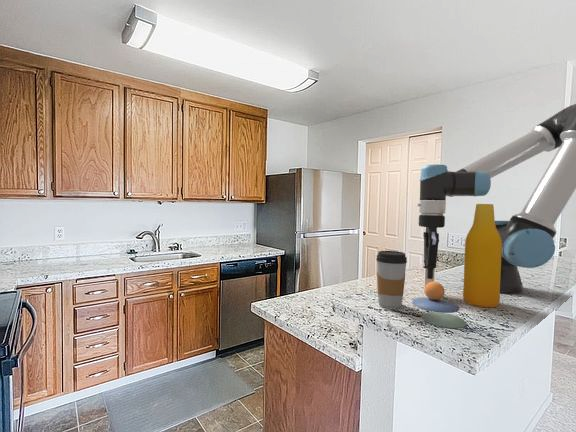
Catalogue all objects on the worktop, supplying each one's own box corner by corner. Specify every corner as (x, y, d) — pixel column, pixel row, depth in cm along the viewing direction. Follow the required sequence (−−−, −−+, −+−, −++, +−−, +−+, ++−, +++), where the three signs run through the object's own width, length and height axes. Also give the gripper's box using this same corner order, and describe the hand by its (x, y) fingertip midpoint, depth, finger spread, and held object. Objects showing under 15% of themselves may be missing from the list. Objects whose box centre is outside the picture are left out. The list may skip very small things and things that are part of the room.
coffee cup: (407, 311, 86) (409, 256, 85) (375, 308, 87) (377, 254, 86) (403, 301, 94) (404, 251, 93) (373, 299, 95) (375, 249, 95)
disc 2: (450, 312, 85) (450, 311, 85) (475, 327, 75) (475, 327, 75) (414, 313, 84) (414, 312, 84) (435, 328, 74) (435, 327, 74)
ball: (444, 278, 95) (445, 294, 91) (443, 289, 98) (444, 305, 95) (424, 277, 97) (424, 292, 93) (424, 287, 100) (424, 302, 97)
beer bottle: (507, 307, 89) (512, 204, 88) (474, 308, 89) (479, 204, 87) (485, 297, 99) (489, 203, 97) (456, 297, 98) (459, 203, 96)
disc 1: (442, 298, 98) (442, 297, 98) (468, 312, 86) (468, 311, 86) (405, 298, 97) (405, 297, 97) (425, 312, 85) (425, 311, 85)
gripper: (416, 213, 108) (413, 281, 109) (421, 215, 95) (418, 292, 97) (440, 213, 106) (437, 283, 107) (449, 215, 93) (446, 295, 95)
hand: (428, 287), depth 102 cm, fingers closed
